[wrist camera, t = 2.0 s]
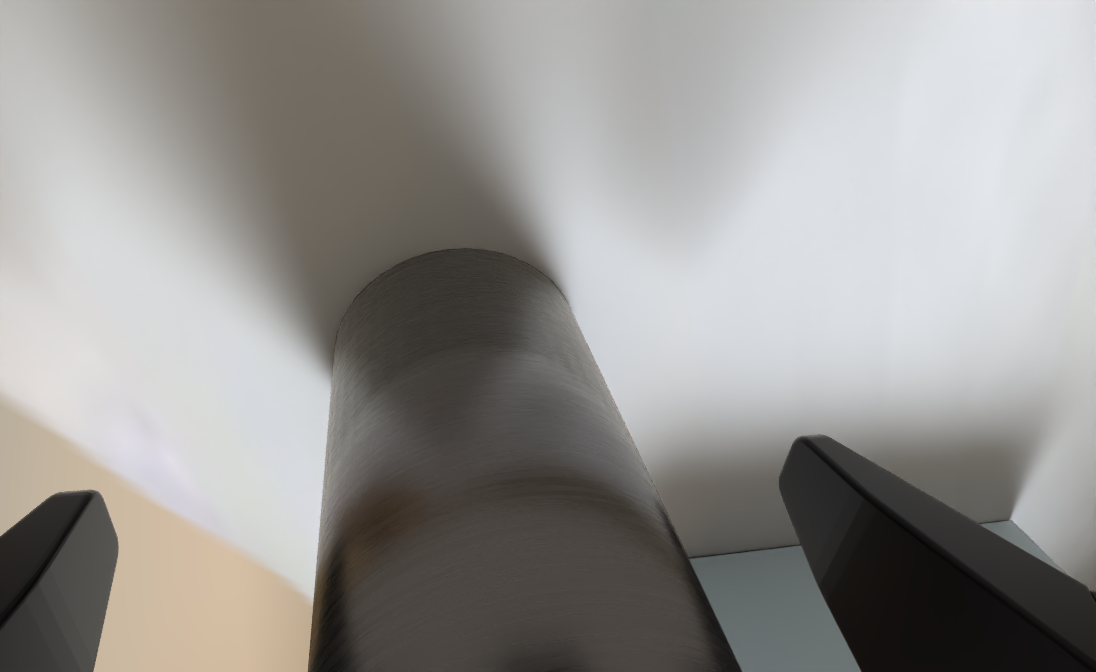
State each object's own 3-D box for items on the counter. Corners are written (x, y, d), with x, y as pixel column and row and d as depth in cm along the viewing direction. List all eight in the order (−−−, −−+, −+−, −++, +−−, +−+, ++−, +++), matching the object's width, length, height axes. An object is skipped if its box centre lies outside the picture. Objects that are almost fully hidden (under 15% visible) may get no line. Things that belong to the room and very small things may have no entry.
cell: (592, 248, 10) (955, 843, 4) (562, 440, 13) (766, 1029, 6) (324, 248, 9) (221, 1031, 3) (342, 455, 12) (303, 1174, 5)
